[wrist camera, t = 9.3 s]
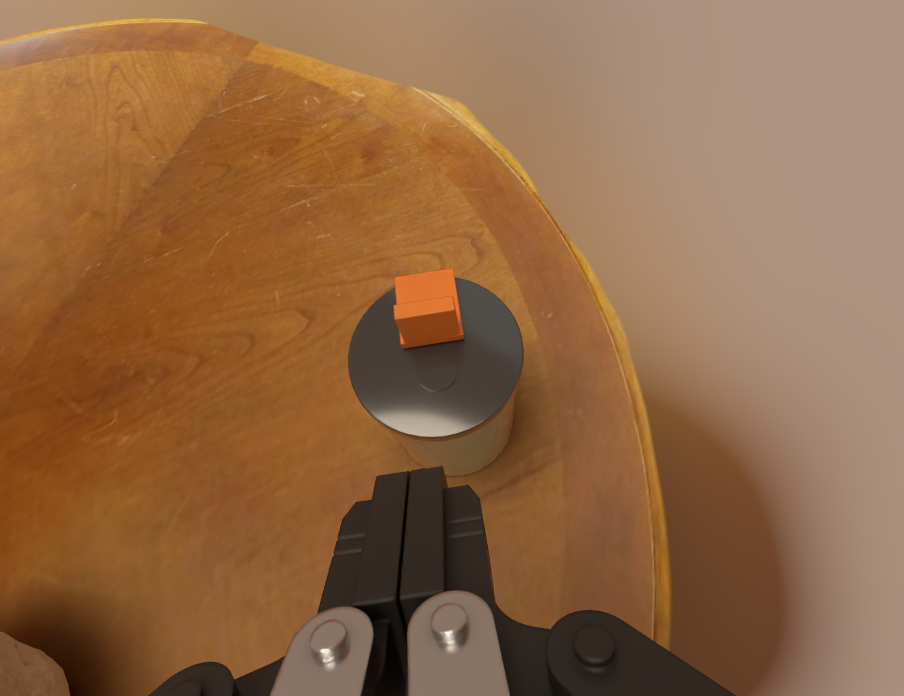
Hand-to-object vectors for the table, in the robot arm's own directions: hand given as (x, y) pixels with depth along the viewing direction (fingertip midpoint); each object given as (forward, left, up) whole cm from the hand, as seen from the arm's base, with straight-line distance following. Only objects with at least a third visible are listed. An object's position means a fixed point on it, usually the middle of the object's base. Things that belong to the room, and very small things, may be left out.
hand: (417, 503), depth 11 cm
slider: (+9, -7, -11) cm, 16 cm away
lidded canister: (+7, -6, -23) cm, 25 cm away
